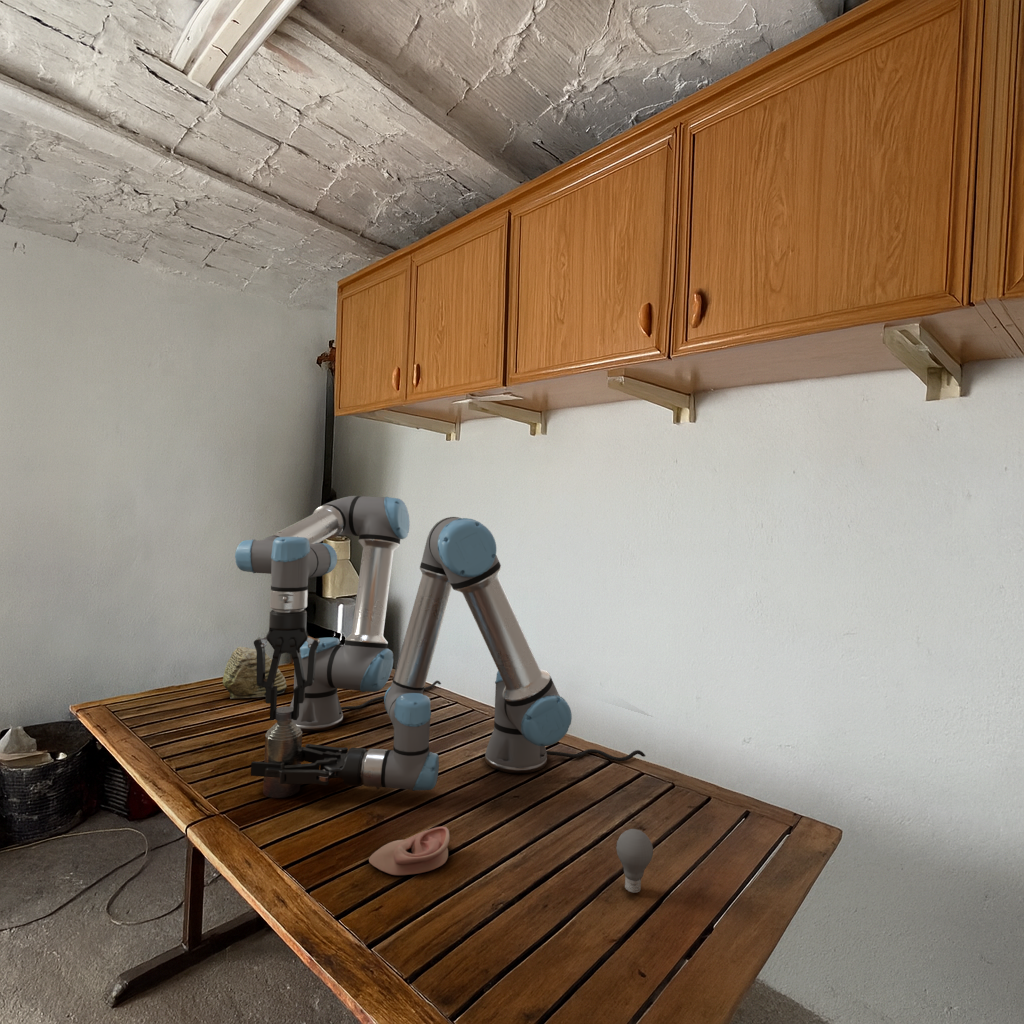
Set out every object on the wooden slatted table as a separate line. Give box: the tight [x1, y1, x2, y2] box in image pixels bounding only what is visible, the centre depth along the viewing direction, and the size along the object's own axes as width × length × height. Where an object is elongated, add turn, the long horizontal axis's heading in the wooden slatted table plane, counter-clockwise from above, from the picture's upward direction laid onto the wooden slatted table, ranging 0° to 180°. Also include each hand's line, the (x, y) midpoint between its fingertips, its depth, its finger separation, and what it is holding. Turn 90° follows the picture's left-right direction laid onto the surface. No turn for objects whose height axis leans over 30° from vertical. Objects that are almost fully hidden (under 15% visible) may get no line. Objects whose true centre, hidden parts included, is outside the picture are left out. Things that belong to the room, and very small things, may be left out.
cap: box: [274, 706, 293, 721], centre depth 136 cm, size 4×4×2 cm
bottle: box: [262, 719, 303, 799], centre depth 136 cm, size 7×7×17 cm
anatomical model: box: [368, 826, 451, 876], centre depth 112 cm, size 13×4×12 cm
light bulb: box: [615, 828, 654, 894], centre depth 106 cm, size 6×6×10 cm
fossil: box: [222, 646, 288, 699], centre depth 198 cm, size 9×18×15 cm, turn 132°
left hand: (284, 717), depth 136 cm, fingers closed on cap, 4 cm apart
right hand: (260, 760), depth 136 cm, fingers closed on bottle, 7 cm apart
